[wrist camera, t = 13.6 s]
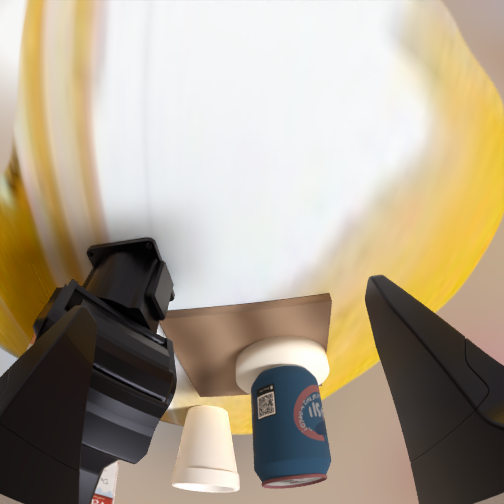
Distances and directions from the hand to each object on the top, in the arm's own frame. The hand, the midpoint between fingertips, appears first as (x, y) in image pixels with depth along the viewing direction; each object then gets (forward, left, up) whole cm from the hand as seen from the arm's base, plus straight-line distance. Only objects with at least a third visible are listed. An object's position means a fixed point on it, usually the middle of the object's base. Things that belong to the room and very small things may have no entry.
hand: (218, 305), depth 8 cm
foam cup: (-10, -37, -13) cm, 41 cm away
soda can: (+2, -22, -10) cm, 24 cm away
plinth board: (-1, -21, -13) cm, 25 cm away
